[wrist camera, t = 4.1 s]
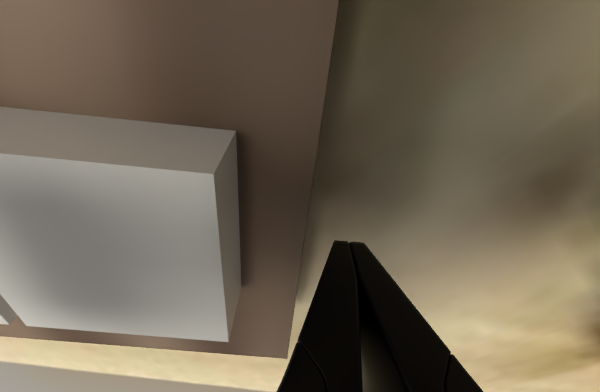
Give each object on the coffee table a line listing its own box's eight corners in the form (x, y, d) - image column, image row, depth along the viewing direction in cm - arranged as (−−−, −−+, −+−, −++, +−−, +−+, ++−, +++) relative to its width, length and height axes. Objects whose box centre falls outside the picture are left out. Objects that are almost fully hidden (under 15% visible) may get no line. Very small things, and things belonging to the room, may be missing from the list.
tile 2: (235, 130, 7) (213, 174, 5) (241, 287, 10) (228, 341, 9) (-22, 104, 7) (-126, 140, 5) (71, 272, 10) (26, 326, 9)
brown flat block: (345, -121, 7) (365, -185, 4) (290, 301, 16) (287, 358, 13) (-517, -234, 6) (-1078, -383, 4) (-50, 272, 15) (-119, 326, 13)
